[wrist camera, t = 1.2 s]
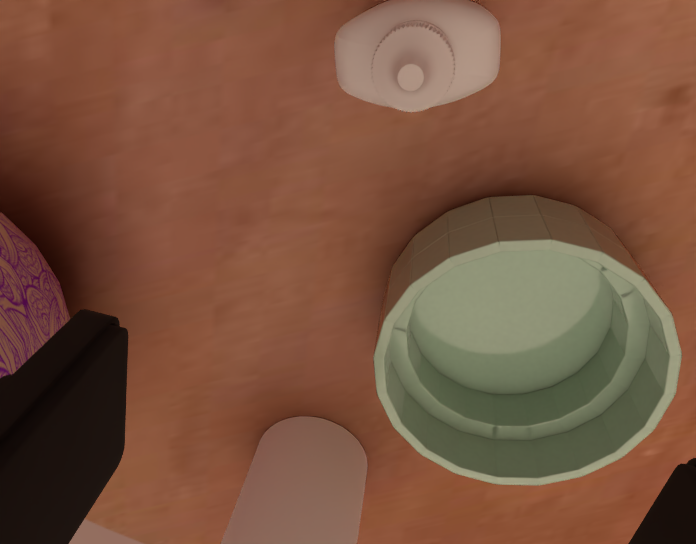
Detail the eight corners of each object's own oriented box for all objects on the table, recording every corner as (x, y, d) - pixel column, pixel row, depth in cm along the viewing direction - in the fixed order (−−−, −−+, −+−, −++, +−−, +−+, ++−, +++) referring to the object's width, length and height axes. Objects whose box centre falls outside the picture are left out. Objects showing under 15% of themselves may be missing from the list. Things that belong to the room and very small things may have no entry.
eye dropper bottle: (453, 110, 28) (463, 194, 17) (343, 54, 27) (284, 106, 17) (503, 16, 26) (550, 46, 15) (385, -45, 25) (348, -57, 15)
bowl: (420, 162, 29) (417, 205, 24) (684, 228, 29) (740, 286, 24) (360, 374, 35) (347, 445, 30) (579, 430, 35) (605, 513, 30)
